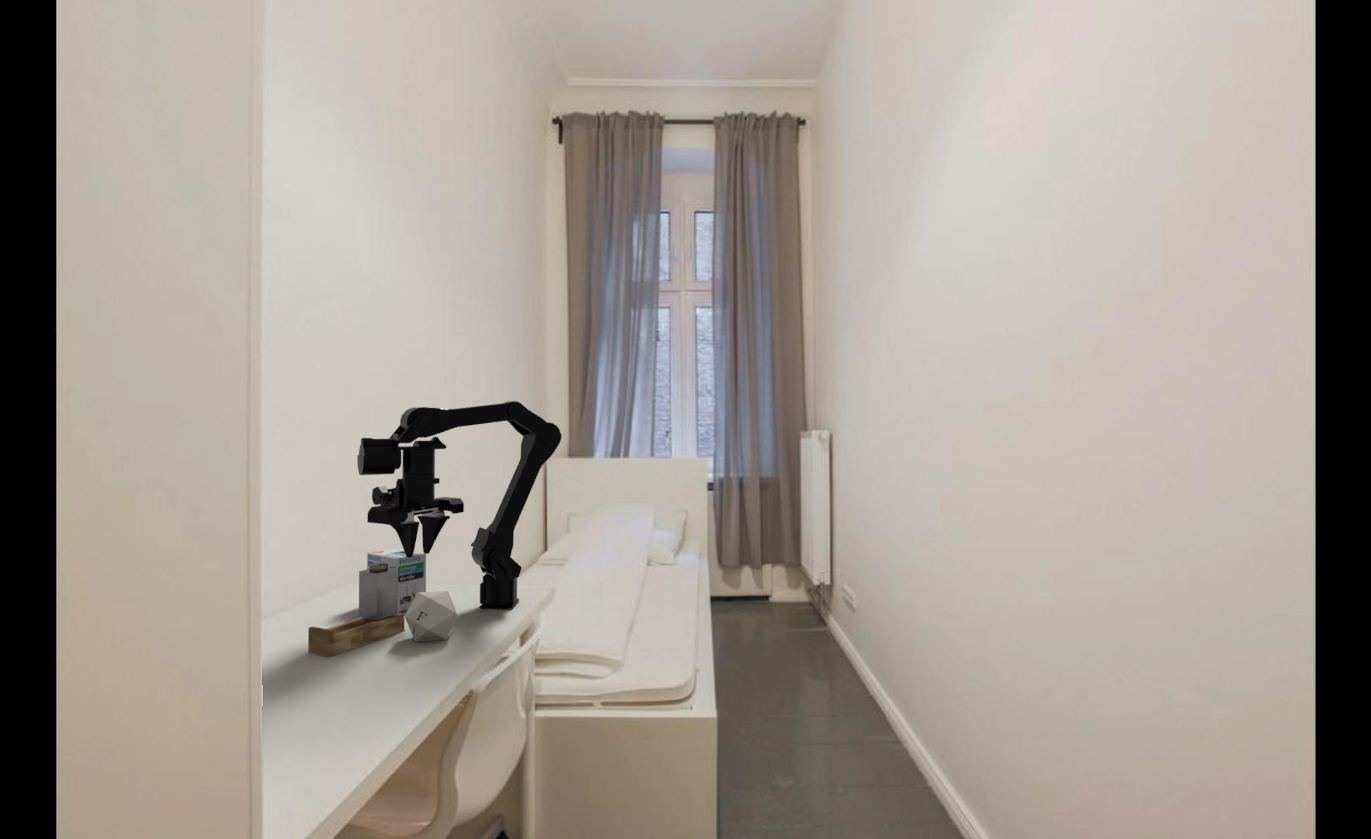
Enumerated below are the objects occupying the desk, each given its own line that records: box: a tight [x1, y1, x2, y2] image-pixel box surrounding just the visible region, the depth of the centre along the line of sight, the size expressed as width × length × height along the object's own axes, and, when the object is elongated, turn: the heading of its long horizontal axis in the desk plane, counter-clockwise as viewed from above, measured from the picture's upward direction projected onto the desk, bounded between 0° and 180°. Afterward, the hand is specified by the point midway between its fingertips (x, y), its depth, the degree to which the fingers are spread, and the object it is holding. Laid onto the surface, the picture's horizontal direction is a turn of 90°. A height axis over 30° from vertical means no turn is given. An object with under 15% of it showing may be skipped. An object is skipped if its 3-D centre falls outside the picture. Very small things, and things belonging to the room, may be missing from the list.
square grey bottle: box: [358, 562, 399, 623], centre depth 118 cm, size 4×4×10 cm
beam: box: [307, 612, 406, 658], centre depth 115 cm, size 15×5×4 cm, turn 156°
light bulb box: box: [366, 547, 427, 613], centre depth 137 cm, size 11×7×11 cm, turn 58°
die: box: [404, 590, 458, 643], centre depth 116 cm, size 8×9×10 cm
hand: (417, 555), depth 127 cm, fingers open, 4 cm apart
